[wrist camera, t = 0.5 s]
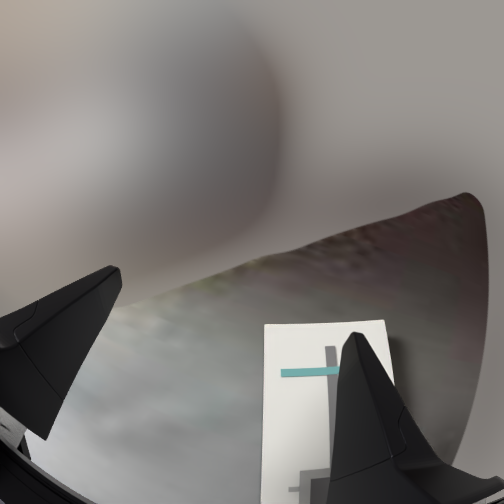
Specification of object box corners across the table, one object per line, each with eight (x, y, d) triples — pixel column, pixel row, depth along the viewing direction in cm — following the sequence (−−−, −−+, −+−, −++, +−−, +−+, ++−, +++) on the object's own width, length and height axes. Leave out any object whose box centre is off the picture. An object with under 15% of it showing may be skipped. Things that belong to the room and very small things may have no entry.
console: (382, 517, 12) (397, 524, 9) (259, 533, 12) (259, 545, 10) (372, 333, 23) (384, 319, 21) (264, 338, 24) (264, 323, 21)
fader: (370, 497, 12) (397, 508, 8) (298, 508, 12) (309, 526, 8) (370, 460, 13) (399, 462, 10) (299, 470, 14) (310, 478, 10)
